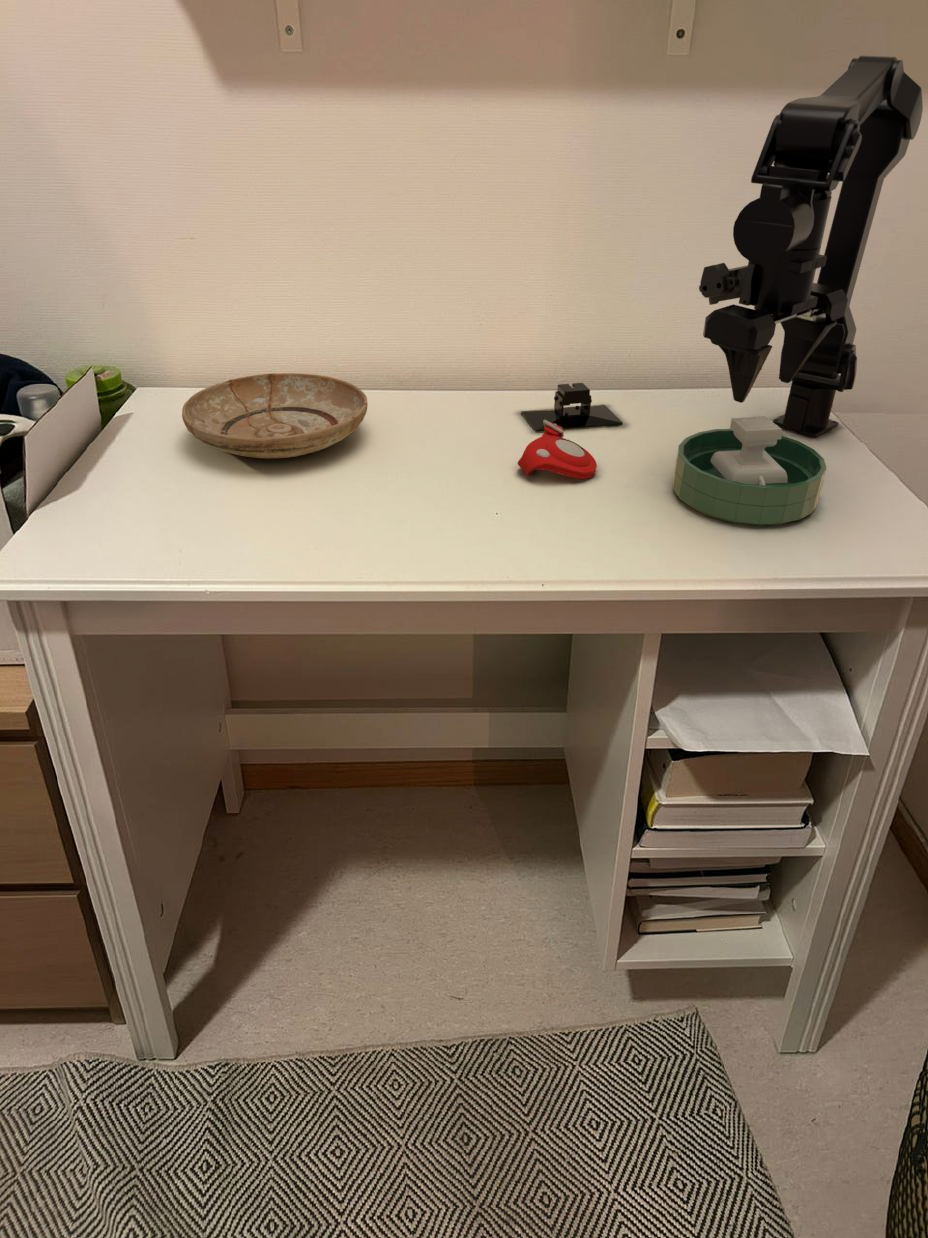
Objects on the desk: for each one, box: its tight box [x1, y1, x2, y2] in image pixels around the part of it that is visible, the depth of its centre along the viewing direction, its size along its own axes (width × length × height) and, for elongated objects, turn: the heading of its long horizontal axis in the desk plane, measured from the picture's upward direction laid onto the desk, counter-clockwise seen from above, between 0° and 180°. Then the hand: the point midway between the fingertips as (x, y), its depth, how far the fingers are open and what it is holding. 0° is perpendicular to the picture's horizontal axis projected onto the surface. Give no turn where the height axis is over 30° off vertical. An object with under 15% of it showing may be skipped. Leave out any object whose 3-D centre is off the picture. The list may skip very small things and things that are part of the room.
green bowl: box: [672, 428, 827, 527], centre depth 105 cm, size 16×16×5 cm
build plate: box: [520, 382, 623, 433], centre depth 124 cm, size 12×7×5 cm, turn 104°
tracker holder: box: [517, 420, 598, 480], centre depth 112 cm, size 12×4×10 cm
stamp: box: [711, 415, 788, 486], centre depth 104 cm, size 9×7×8 cm
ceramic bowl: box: [181, 372, 369, 459], centre depth 118 cm, size 23×24×5 cm
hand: (762, 391), depth 102 cm, fingers open, 9 cm apart
